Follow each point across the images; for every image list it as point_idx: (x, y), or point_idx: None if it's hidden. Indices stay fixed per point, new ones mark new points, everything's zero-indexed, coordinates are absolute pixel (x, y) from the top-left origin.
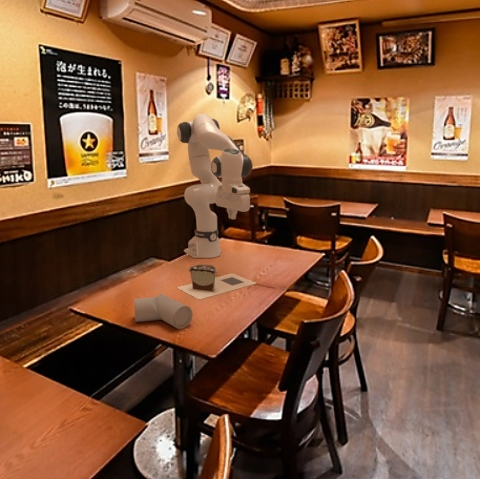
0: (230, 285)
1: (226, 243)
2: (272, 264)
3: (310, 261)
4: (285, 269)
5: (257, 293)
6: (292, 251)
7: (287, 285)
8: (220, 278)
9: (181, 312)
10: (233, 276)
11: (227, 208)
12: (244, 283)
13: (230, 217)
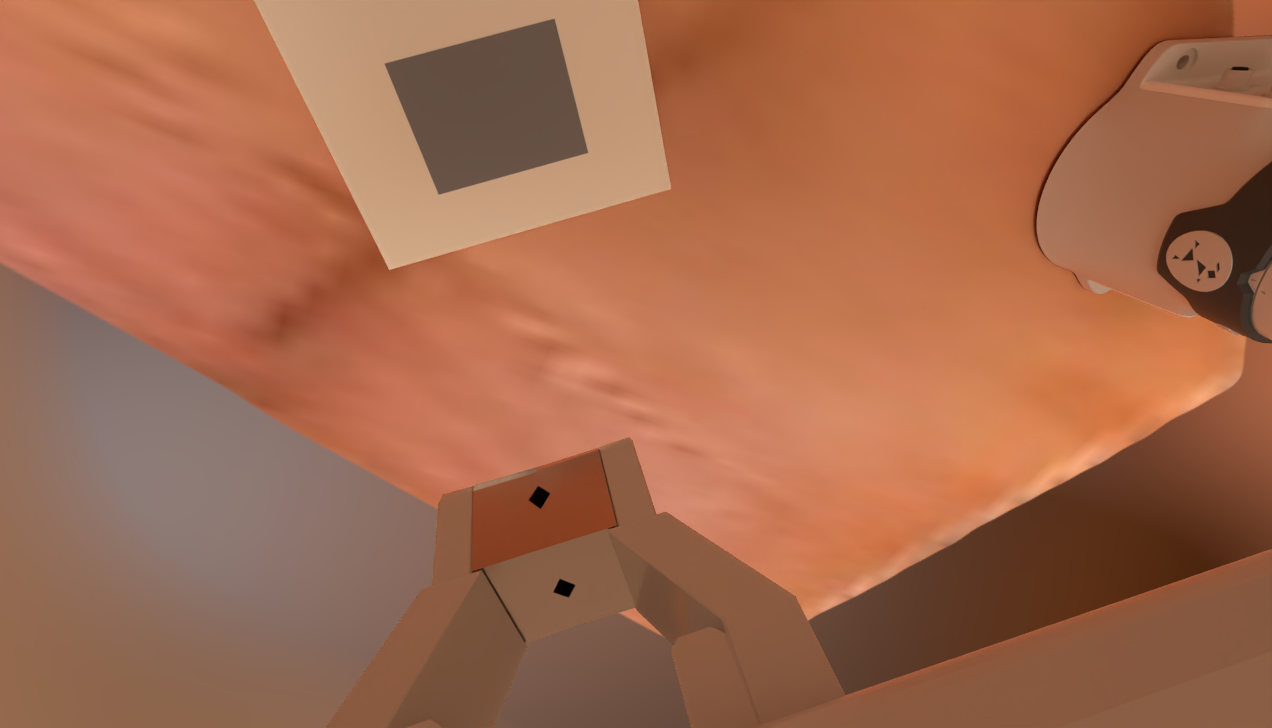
0: (391, 49)
1: (1178, 367)
2: (704, 466)
3: None
4: None
5: (147, 188)
6: (826, 591)
7: (299, 426)
8: (597, 42)
9: None
10: (598, 167)
11: (787, 703)
12: (407, 182)
13: (547, 483)
